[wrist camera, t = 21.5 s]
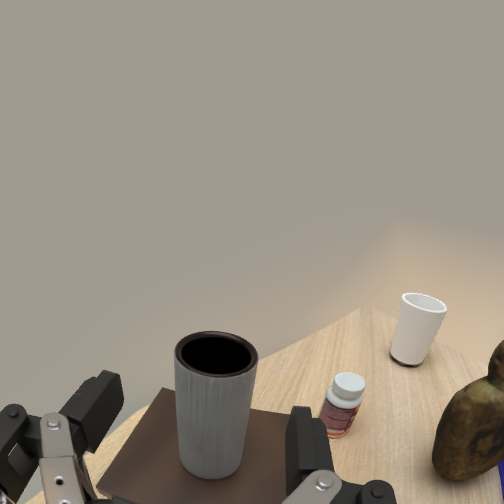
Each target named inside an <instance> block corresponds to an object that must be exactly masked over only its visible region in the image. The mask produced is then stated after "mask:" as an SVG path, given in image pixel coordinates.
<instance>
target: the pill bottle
mask: <svg viewBox="0 0 504 504" xmlns="http://www.w3.org/2000/svg"><path fill="white" fill-rule="evenodd" d="M365 385H366V384H365V381H364V379H363V378H362V377H361V376H359V375H357V374H354V373H351V372H342V373H339V374H337V375H336V376H335V378H334V381H333V383H332V386H330V387H329V388H328V390H327V392H326V395H325V398H324V401H323V404H322V407H321V410H320V412H319V415H318V418H320V419H321V420H322V421H323V423H324V424H325V425H326V428H327V433H328V437H332V438H338V437H341V436H344V435H345V434H346V433H347V432H348V430H349V428H350V426H351V424H352V422H353V420H354V418H355V416H356V414H357V411H358V409H359V407H360V405H361V402H362V399H363V396H362V393H363V391H364V388H365Z"/></svg>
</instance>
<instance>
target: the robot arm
mask: <svg viewBox="0 0 504 504" xmlns="http://www.w3.org/2000/svg"><path fill="white" fill-rule="evenodd" d="M123 403H124V396H123V391H122V384H121V379H120V375H119V374H117V373H113V372H110V371H107V370H103V371H102V372H101V373H100V374H99V376H98V377H97V378H96V377H91V378H90V379H88V380H86V381H84V383H83V384H82V385H81V386H80V388H79V389H78V390H77V391H76V392H75V394H73V396H72V397H71V398H70V399H69V401H68V402H67V403H66V404H65V405H64V406H63V408H62V409H61V410H60V411H59V412H58V413H49V414H46V415H44V416H43V417H37V416H32V415H28V414H27V412H26V410H25V409H24V407H23V406H21V405H18V404H10V405H8V406H6V407H5V408H4V409H3V410H2V411H1V412H0V504H16V503H17V501H18V500H19V498H20V496H21V494H22V492H23V491H24V489H25V487H26V486H27V484H28V482H29V480H30V479H31V477H32V475H33V474H34V472H35V471H36V469H37V467H38V465H39V466H40V473H41V479H42V485H43V491H44V496H45V501H46V504H138V503H135V502H132V501H129V500H127V499H124V498H121V497H118V496H116V495H113V497H112V499H111V500H110V499H98V498H97V496H96V494H95V492H94V490H93V487H92V484H91V481H90V477H89V474H88V470H87V466H86V463H85V459H84V456H83V455H84V453H85V451H88V452H91V453H93V454H94V453H95V451H96V450H97V448H98V446H99V445H100V443H101V441H102V440H103V438H104V437H105V435H106V433H107V431H108V430H109V428H110V426H111V425H112V423H113V421H114V420H115V418H116V417H117V415H118V413H119V412H120V410H121V409H122V406H123ZM16 443H17V445H16ZM15 445H16V446H15ZM14 446H15V448H14V449H13V447H14ZM12 449H13V451H12V452H11V450H12ZM10 452H11V453H10ZM9 453H10V455H9ZM8 455H9V456H8ZM285 462H286V496H289V497H288V498H287V499H285V500H284V501H283V502H282V503H281V504H397V503H396V498H395V494H394V490H393V488H392V486H391V485H390V484H389V483H387V482H385V481H382V480H372V481H369V482H367V483H366V484H365V485H359V484H353V483H349V482H346V481H343V480H342V479H340V477H339V476H338V475H337V474H336V473H335V471H334V467H333V461H332V456H331V450H330V444H329V439H328V433H327V428H326V425H325V424H324V423H323V421H322V420H321V419H320V418H312V415H311V409H310V407H303V406H293V407H292V410H291V414H290V417H289V421H288V424H287V427H286V433H285Z"/></svg>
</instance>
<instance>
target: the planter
mask: <svg viewBox="0 0 504 504" xmlns="http://www.w3.org/2000/svg"><path fill="white" fill-rule="evenodd" d="M257 365H258V353H257V351H256V349H255V348H254V346H253V345H252V344H251V343H249V342H248V341H247V340H245V339H243V338H241V337H239V336H237V335H234V334H230V333H225V332H219V331H203V332H198V333H193V334H190V335H188V336H186V337H184V338H183V339H181V340H180V341H179V342H178V343H177V345H176V347H175V350H174V366H175V367H174V368H175V396H176V415H177V430H178V443H179V454H180V459H181V462H182V464H183V466H184V467H185V468H186V470H188V471H189V472H190V473H191V474H193V475H195V476H197V477H200V478H203V479H211V480H214V479H221V478H225V477H227V476H229V475H231V474H232V473H234V472H235V471H236V470H237V468H238V467H239V464H240V461H241V457H242V452H243V446H244V441H245V435H246V429H247V424H248V418H249V412H250V407H251V401H252V395H253V389H254V383H255V377H256V371H257Z"/></svg>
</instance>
